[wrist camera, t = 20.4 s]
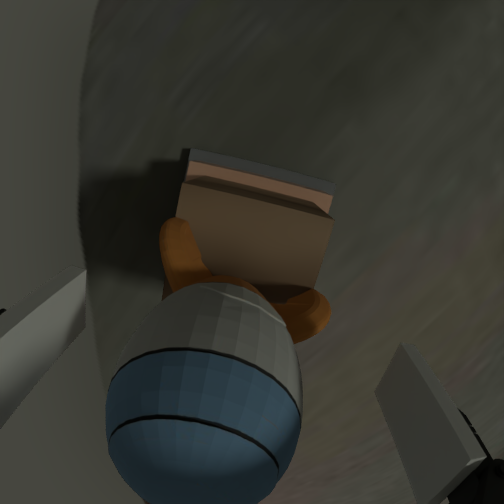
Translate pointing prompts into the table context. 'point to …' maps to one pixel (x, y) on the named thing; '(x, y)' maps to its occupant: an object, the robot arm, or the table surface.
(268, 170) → the build base
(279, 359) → the toy rocket
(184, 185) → the walnut brick
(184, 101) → the table surface
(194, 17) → the table surface
